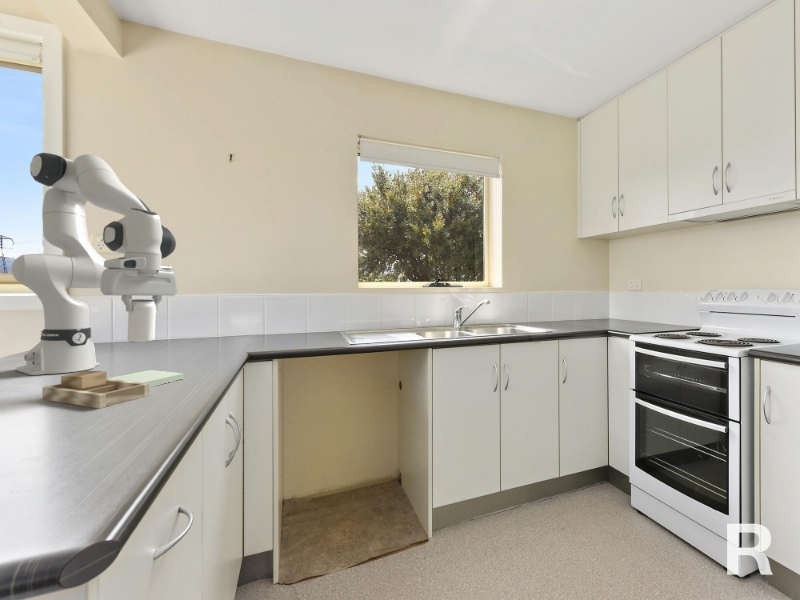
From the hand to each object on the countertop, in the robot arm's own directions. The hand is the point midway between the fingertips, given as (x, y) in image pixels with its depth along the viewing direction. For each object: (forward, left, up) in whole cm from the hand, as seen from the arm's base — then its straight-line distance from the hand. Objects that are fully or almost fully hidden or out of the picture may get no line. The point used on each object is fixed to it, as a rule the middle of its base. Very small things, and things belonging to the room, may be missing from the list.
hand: (142, 311), depth 102 cm
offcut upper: (-1, -14, -19) cm, 23 cm away
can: (-1, 0, -9) cm, 9 cm away
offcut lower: (-1, -14, -22) cm, 26 cm away
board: (0, +1, -21) cm, 21 cm away
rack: (+4, -14, -21) cm, 26 cm away
